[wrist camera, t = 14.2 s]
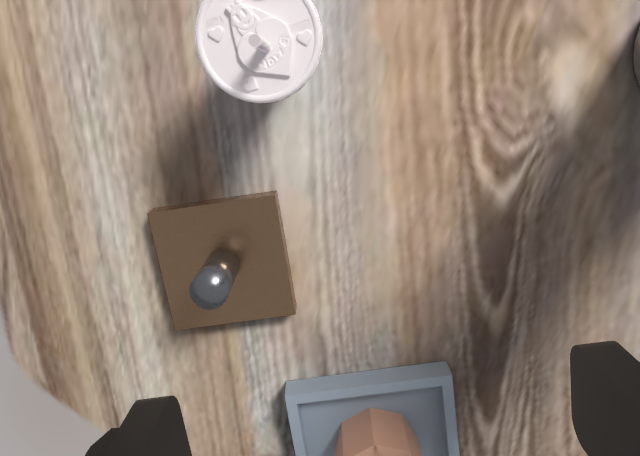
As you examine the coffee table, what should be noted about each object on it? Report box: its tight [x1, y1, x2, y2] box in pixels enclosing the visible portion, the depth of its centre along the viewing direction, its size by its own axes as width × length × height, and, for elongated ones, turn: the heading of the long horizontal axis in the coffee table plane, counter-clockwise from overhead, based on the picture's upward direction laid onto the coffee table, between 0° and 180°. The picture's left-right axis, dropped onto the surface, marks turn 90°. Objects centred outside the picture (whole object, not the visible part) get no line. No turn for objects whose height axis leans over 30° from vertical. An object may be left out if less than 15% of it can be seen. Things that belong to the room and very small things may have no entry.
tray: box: [285, 361, 460, 456], centre depth 43 cm, size 13×13×2 cm
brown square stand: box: [147, 191, 296, 330], centre depth 37 cm, size 9×9×6 cm
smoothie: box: [195, 0, 323, 103], centre depth 29 cm, size 6×6×14 cm
